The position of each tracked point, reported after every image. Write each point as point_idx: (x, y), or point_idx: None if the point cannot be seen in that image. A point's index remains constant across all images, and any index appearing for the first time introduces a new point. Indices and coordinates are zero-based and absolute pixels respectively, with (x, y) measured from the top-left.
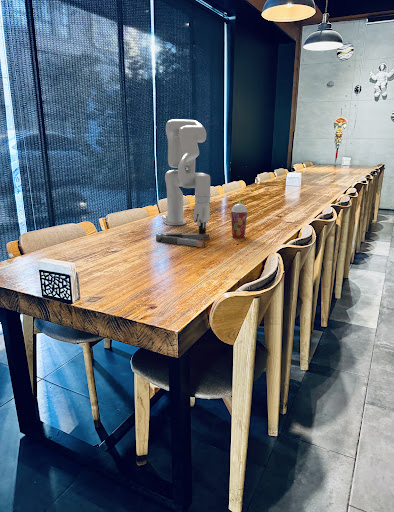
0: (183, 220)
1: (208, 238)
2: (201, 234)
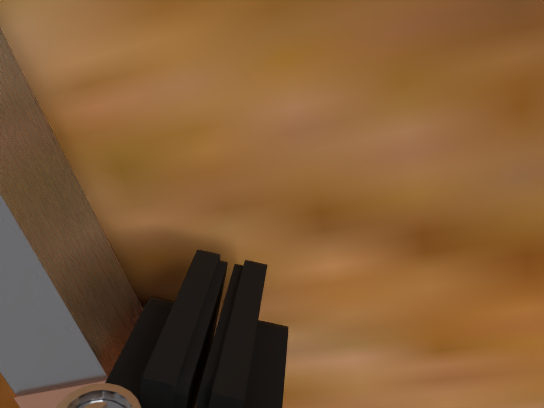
0: None
1: None
2: (7, 362)
